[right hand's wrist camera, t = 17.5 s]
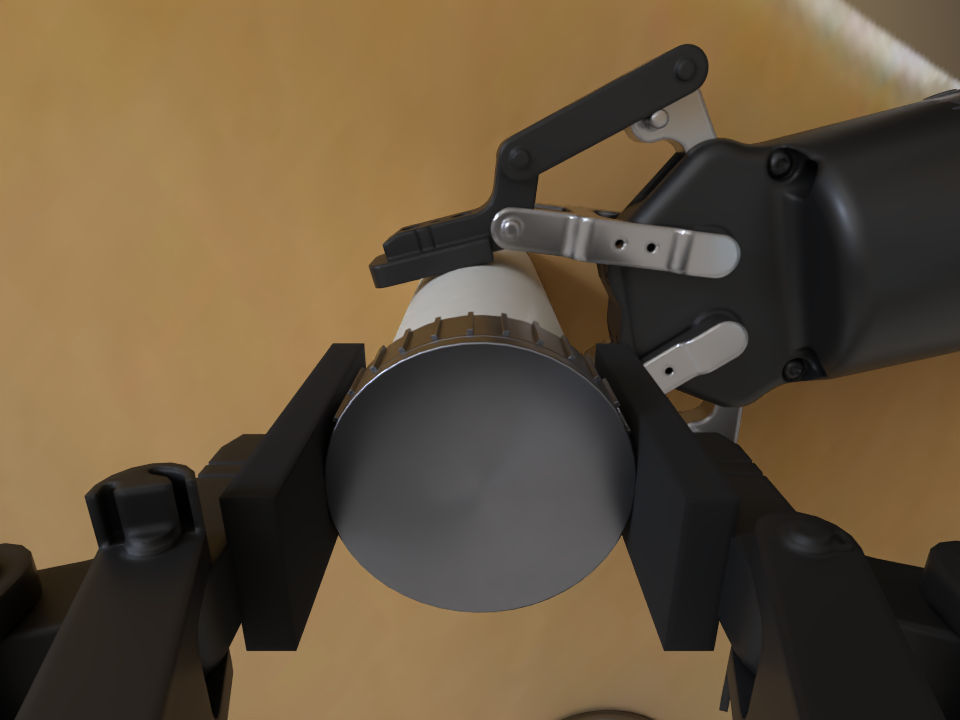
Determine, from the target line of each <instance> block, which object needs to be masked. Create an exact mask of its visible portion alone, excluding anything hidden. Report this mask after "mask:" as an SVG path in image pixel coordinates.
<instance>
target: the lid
mask: <svg viewBox="0 0 960 720" xmlns="http://www.w3.org/2000/svg"><path fill="white" fill-rule="evenodd" d="M619 406H620V404H619V402H618V400H617V398H616V396H615V395H614V393H613V391H612V389H611V387H610V385H609V383H608V381H607V380H606V378H604V379H602V380H601V378H600V376H599V374H598V372H597V370H596V368H595V366H594V364H593V362H592V360H591V358H590V357H589V356H588V355H586V356H584V357H583V356H582V355H581V354H580V353H579V352H578V351H577V350H576V349H575V348H574V347H573V346H571V345H570V343H569V341H568V339H567V337H565V336H564V335H562V336H561V338H560V337H558V336H557V335H555V334H553V333H551V332H549V331H547V330H545V329H543V328H541V327H540V325H539V323H538V322H536V321H533V323H532V324H530V323H528V322H525V321H521V320H517V319H512V318H508V317H507V314H506V313H501V316H492V315H474V312H468V315H465V316H459V317H453V318H447V319H443V320H442V319H441V317H436V318H435V322H433V323H429V324H427V325H424V326H422V327H420V328H418V329H415V330H413V331H412V330H411V328H409V329H407V330H405V333H404V335H403V336H402V337H401V338H399V339H398V340H396V341H394V342H393V343H392V344H391V345H389V346H388V347H387V348H386V347H385V346H384V345H383V346H382V347H381V348H380V349H379V351H378V353H377V355H376V357H375V359H374V360H373V361H372V362H371V363H370V365H369V366H368V367H367V368H366V369H365V368H363V367H362V368H361V369H360V371H359V373H358V375H357V377H356V378H355V380H354V382H353V384H352V386H351V388H350V390H349V392H347V394H346V396H345V398H344V400H343V402H342V403H341V405H340V407H339V409H338V411H337V413H336V415H335V417H334V419H333V422H335V423H336V425H335V427H334V429H333V431H332V434H331V437H330V440H329V443H328V446H327V449H326V456H325V462H324V483H325V493H326V501H327V507H328V510H329V513H330V516H331V520H332V522H333V524H334V526H335V528H336V531H337V533H338V535H339V537H340V538H341V540H342V541H343V543H344V544H345V546H346V547H347V549H348V551H349V552H350V553H351V554H352V555H353V556H354V558H355V559H356V560H357V561H358V562H359V563H360V565H362V566H363V567H364V568H365V569H366V570H367V571H368V572H369V573H370V574H371V575H373V576H374V577H375V578H377V579H378V580H379V581H381V582H382V583H384V584H385V585H386V586H388V587H389V588H391V589H393V590H395V591H397V592H399V593H400V594H402V595H404V596H406V597H409V598H411V599H414V600H416V601H419V602H421V603H424V604H428V605H431V606H435V607H438V608H443V609H448V610H454V611H462V612H498V611H506V610H513V609H517V608H522V607H526V606H530V605H533V604H536V603H539V602H542V601H544V600H547V599H550V598H552V597H554V596H556V595H558V594H560V593H562V592H564V591H566V590H567V589H569V588H571V587H572V586H574V585H575V584H577V583H578V582H580V581H581V580H583V579H584V578H585V577H586V576H587V575H589V574H590V573H591V572H592V571H594V570H595V569H596V568H597V567H598V566H599V565H600V564H601V562H602V561H603V560H604V559H605V558H606V557H607V556H608V555H609V553H610V552H611V551H612V549H613V548H614V546H615V545H616V544H617V542H618V540H619V539H620V537H621V535H622V533H623V531H624V530H625V528H626V525H627V523H628V520H629V517H630V515H631V512H632V508H633V504H634V496H635V487H636V477H637V469H636V458H635V453H634V449H633V445H632V441H631V438H630V436H629V435H631V434H632V433H631V429H630V428H629V426H628V424H627V422H626V420H625V418H624V416H623V414H622V412H621V410H620V409H619Z"/></svg>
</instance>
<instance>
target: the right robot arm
mask: <svg viewBox="0 0 960 720" xmlns="http://www.w3.org/2000/svg"><path fill="white" fill-rule="evenodd" d="M362 367H363V368H365V369H366V362H365V348H364V343H333V344H332V345H331V347H330V348H329V349H328V351H327V352H326V354H325V355H324V356H323V358H322V359H321V360H320V362H319V363H318V364H317V366H316V367H315V368H314V370H313V371H312V372H311V374H310V375H309V377H308V378H307V379H306V381H305V382H304V383H303V385H302V386H301V387H300V389H299V390H298V391H297V393H296V394H295V396H294V397H293V398H292V400H291V401H290V402H289V404H288V405H287V406H286V408H285V409H284V410H283V412H282V413H281V414H280V416H279V417H278V419H277V420H276V421H275V423H274V424H273V425H272V427H271V428H270V429H269V431H268V432H267V433H266V434H243V435H241V436H239V437H238V438H236V439H234V440H233V441H231V442H229V443H228V444H226V445H224V446H223V447H221V449H220V450H219V451H218V452H217V453H216V454H215V456H214V457H213V458H212V459H211V460H210V461H209V465H206V466H205V467H204V469H203V470H202V471H201V472H200V473H199V474H198V478H196V477H195V472H194V471H193V470H191V469H190V468H189V467H187V466H186V465H181V464H176V463H152V464H147V465H143V466H138V467H133V468H130V469H127V470H125V471H122V472H119V473H117V474H114V475H111V476H110V477H108V478H106V479H105V480H103V481H101V482H99V483H98V484H96V485H95V486H94V487H93V488H92V489H91V490H90V491H89V492H88V493H87V494H86V495H85V500H86V503H87V507H88V510H89V514H90V518H91V521H92V525H93V528H94V532H95V536H96V539H97V543H98V547H99V550H98V552H97V554H96V556H95V558H94V559H91V560H87V561H82V562H77V563H72V564H67V565H62V566H57V567H52V568H47V569H42V570H37V569H36V566H35V563H34V560H33V557H32V554H31V551H29V550H28V549H26V548H25V547H24V546H22V545H16V544H7V543H4V544H0V720H227V718H228V710H229V702H230V694H231V686H232V678H233V668H232V661H231V655H230V650H229V647H230V645H231V643H232V641H233V639H234V637H235V634H236V632H237V630H238V628H239V626H240V624H241V623H242V628H243V634H244V639H245V645H246V650H247V651H296V650H297V647H298V645H299V642H300V639H301V636H302V634H303V631H304V628H305V625H306V623H307V620H308V617H309V614H310V612H311V609H312V606H313V603H314V601H315V598H316V595H317V592H318V589H319V587H320V584H321V581H322V578H323V576H324V573H325V570H326V567H327V565H328V562H329V559H330V556H331V554H332V551H333V548H334V545H335V543H336V540H337V537H338V533H337V531H336V528H335V526H334V524H333V522H332V520H331V516H330V513H329V510H328V507H327V501H326V493H325V483H324V462H325V456H326V449H327V446H328V443H329V440H330V437H331V434H332V431H333V429H334V427H335V425H336V423H335V422H333V419H334V417H335V415H336V413H337V411H338V409H339V407H340V405H341V403H342V402H343V400H344V398H345V396H346V394H347V392H349V390H350V388H351V386H352V384H353V382H354V380H355V378H356V377H357V375H358V373H359V371H360V369H361V368H362ZM595 368H596V370H597V372H598V374H599V376H600V378H601V380H602V379H604V378H606V380H607V381H608V383H609V385H610V387H611V389H612V391H613V393H614V395H615V396H616V398H617V400H618V402H619V404H620V406H619V409H620V410H621V412H622V414H623V416H624V418H625V420H626V422H627V424H628V426H629V428H630V429H631V433H632V434H631V435H629V436H630V438H631V441H632V445H633V449H634V453H635V458H636V469H637V477H636V487H635V496H634V504H633V508H632V512H631V515H630V517H629V520H628V523H627V525H626V528H625V530H624V531H623V533H622V536H623V539H624V542H625V544H626V547H627V550H628V553H629V555H630V558H631V561H632V564H633V566H634V569H635V572H636V575H637V578H638V580H639V583H640V586H641V589H642V591H643V594H644V597H645V600H646V602H647V605H648V608H649V611H650V613H651V616H652V619H653V622H654V624H655V627H656V630H657V633H658V635H659V638H660V641H661V644H662V646H663V649H664V651H714V647H715V641H716V636H717V630H718V625H719V621H720V623H721V625H722V627H723V629H724V631H725V633H726V635H727V637H728V639H729V641H730V643H731V650H730V655H729V660H728V666H727V671H726V676H725V681H724V686H723V691H722V696H721V702H720V709H719V710H721V711H725V712H727V711H728V707H729V702H730V701H731V709H732V717H733V720H960V541H949V542H940V543H938V544H937V545H935V546H934V547H933V548H931V549H930V552H929V555H928V558H927V561H926V564H925V567H924V568H922V567H917V566H911V565H906V564H901V563H896V562H891V561H886V560H881V559H876V558H872V557H868V556H865V555H864V553H863V551H862V548H861V547H860V546H859V545H858V543H857V542H856V541H855V540H854V538H853V537H852V536H851V535H850V534H848V533H847V532H845V531H844V530H842V529H841V528H840V527H838V526H837V525H835V524H833V523H830V522H828V521H826V520H823V519H821V518H819V517H816V516H812V515H808V514H804V513H800V512H796V511H795V510H794V509H793V507H792V506H791V505H790V504H789V503H788V502H787V500H786V499H785V498H784V497H783V496H782V495H781V493H780V492H779V491H778V490H777V489H776V488H775V486H774V485H773V484H772V483H771V482H770V481H769V480H768V478H767V477H766V476H763V473H762V471H761V470H760V469H759V468H758V467H757V466H756V464H755V463H752V460H751V459H750V457H749V456H748V455H747V454H746V453H745V452H744V450H743V449H742V448H741V447H740V446H739V445H738V444H736V443H734V442H733V441H731V440H729V439H728V438H726V437H724V436H723V435H721V434H719V433H718V432H692V430H691V429H690V428H689V426H688V425H687V423H686V422H685V421H684V419H683V418H682V417H681V415H680V414H679V413H678V411H677V410H676V409H675V407H674V406H673V405H672V403H671V402H670V400H669V399H668V398H667V396H666V395H665V394H664V392H663V391H662V390H661V388H660V387H659V386H658V384H657V383H656V381H655V380H654V379H653V377H652V376H651V375H650V373H649V372H648V371H647V369H646V368H645V367H644V365H643V364H642V363H641V361H640V360H639V358H638V357H637V356H636V354H635V353H634V352H633V350H632V349H631V348H630V346H629V345H628V344H627V343H596V353H595Z"/></svg>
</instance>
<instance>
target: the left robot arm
mask: <svg viewBox="0 0 960 720" xmlns="http://www.w3.org/2000/svg"><path fill="white" fill-rule="evenodd" d="M707 74H708V60H707V57H706V55H705V53H704V52H703V50H702V49H700V48H699V47H697V46H695V45H692V44H684V45H680V46H678V47H676V48H674V49H672V50H670V51H668V52H666V53H664V54H662V55H660V56H658V57H656V58H654V59H652V60H650V61H648V62H646V63H644V64H642V65H641V66H639V67H637V68H635V69H633V70H631V71H630V72H628V73H626V74H624V75H622V76H620V77H619V78H617V79H615V80H613V81H611V82H609V83H608V84H606V85H604V86H602V87H600V88H599V89H597V90H595V91H593V92H591V93H589V94H588V95H586V96H584V97H582V98H580V99H578V100H577V101H575V102H573V103H571V104H569V105H567V106H566V107H564V108H562V109H560V110H558V111H556V112H555V113H553V114H551V115H549V116H547V117H545V118H544V119H542V120H540V121H538V122H536V123H534V124H533V125H531V126H529V127H527V128H525V129H523V130H522V131H520V132H518V133H516V134H514V135H513V136H511V137H509V138H507V139H506V140H504V141H503V142H502V143H501V144H500V146H499V148H498V150H497V154H496V167H495V176H494V185H493V191H492V194H491V196H490V198H489V199H488V201H487V202H486V203H485V204H484V205H482V206H481V207H479V208H477V209H473V210H470V211H466V212H462V213H458V214H454V215H450V216H446V217H442V218H438V219H434V220H430V221H426V222H422V223H418V224H414V225H410V226H407V227H403V228H401V229H400V230H399V231H397V232H396V233H395V234H393V235H392V236H391V237H389V238H388V240H387V241H386V242H385V243H384V244H383V248H384V251H385V254H382V255H380V256H378V257H376V258H375V259H374V260H373V261H372V262H371V263H370V264H369V268H370V272H371V275H372V278H373V281H374V284H375V287H376V288H385V287H389V286H393V285H398V284H402V283H406V282H410V281H414V280H418V279H422V278H426V277H430V276H434V275H438V274H442V273H446V272H450V271H454V270H457V269H461V268H466V267H471V266H475V265H479V264H483V263H487V262H491V261H494V255H493V252H496V251H500V250H504V249H506V250H513V251H522V252H530V253H539V254H548V255H556V256H564V257H569V258H571V259H575V260H579V261H584V262H592V263H597V269H598V274H599V277H600V279H601V281H602V283H603V285H604V287H605V289H606V291H607V293H608V296H609V301H608V311H607V325H608V330H609V336H610V337H608V338H606V339H605V340H603V341H601V342H600V343H627V344H628V345H629V346H630V348H631V349H632V350H633V352H634V353H635V354H636V356H637V357H638V358H639V360H640V361H641V363H642V364H643V365H644V367H645V368H646V369H647V371H648V372H649V373H650V375H651V376H652V377H653V379H654V380H655V381H656V383H657V384H658V386H659V387H660V388H661V390H662V391H663V392H664V394H666V393H668V392H669V391H671V390H673V389H676V390H679V391H681V392H684V393H687V394H689V395H692V396H694V397H697V398H699V399H702V400H704V401H703V402H702V404H701V405H700V406H698V407H697V408H695V409H693V410H689V411H683V412H682V411H679V412H678V413H679V414H680V415H681V417H682V418H683V419H684V421H685V422H686V423H687V425H688V426H689V428H690V429H691V430H692V432H718V433H719V434H721V435H723V436H724V437H726V438H728V439H729V440H731V441H733V442H734V443H736V444H737V440H738V433H739V427H740V421H741V415H742V409H743V407H744V406H747V405H749V404H751V403H753V402H755V401H756V400H758V399H759V398H761V397H762V396H763V395H764V394H766V393H767V392H769V391H770V390H772V389H774V388H776V387H778V386H780V385H782V384H785V383H790V382H798V381H813V380H826V379H833V378H838V377H843V376H848V375H852V374H857V373H861V372H866V371H870V370H875V369H880V368H884V367H889V366H893V365H898V364H902V363H907V362H912V361H916V360H921V359H925V358H930V357H935V356H939V355H944V354H948V353H953V352H958V351H960V89H959V90H957V89H953V90H949V91H945V92H942V93H939V94H936V95H933V96H930V97H928V98H926V99H924V100H923V101H922V102H917V103H914V104H910V105H906V106H902V107H898V108H894V109H890V110H886V111H882V112H878V113H874V114H870V115H866V116H862V117H859V118H855V119H851V120H847V121H843V122H839V123H835V124H831V125H827V126H823V127H819V128H815V129H811V130H807V131H804V132H800V133H796V134H792V135H788V136H784V137H780V138H776V139H772V140H768V141H764V142H760V143H755V144H744V143H740V142H737V141H734V140H731V139H726V138H717V136H716V133H715V131H714V128H713V125H712V122H711V119H710V116H709V113H708V110H707V108H706V105H705V102H704V99H703V96H702V93H701V90H700V87H701V86H702V84H703V83H704V81H705V79H706V77H707ZM622 130H625V132H626V134H627V136H628V137H629V138H630V139H631V140H633V141H635V142H638V143H653V142H657V141H660V140H665V141H668V142H669V143H671V144H672V145H673V147H674V148H675V150H676V153H675V154H674V155H673V156H672V157H671V158H670V159H669V160H668V162H667V163H666V164H665V165H664V166H663V167H662V168H661V169H660V170H659V172H658V173H657V174H656V175H655V176H654V177H653V178H652V179H651V180H650V181H649V183H648V184H647V185H646V186H645V187H644V188H643V189H642V190H641V191H640V192H639V194H638V195H637V196H636V197H635V198H634V199H633V200H632V201H631V202H630V204H629V205H628V206H627V207H626V208H625V209H624V210H623V211H622V212H620V211H612V210H603V209H595V208H586V207H578V206H559V205H550V204H542V203H535V198H536V191H537V183H538V176H539V174H541V173H542V172H544V171H546V170H548V169H550V168H552V167H554V166H556V165H558V164H559V163H561V162H563V161H565V160H567V159H569V158H571V157H573V156H575V155H576V154H578V153H580V152H582V151H584V150H586V149H588V148H590V147H591V146H593V145H595V144H597V143H599V142H601V141H603V140H605V139H607V138H608V137H610V136H612V135H614V134H616V133H618V132H620V131H622ZM595 353H596V345H595V346H593V347H592V348H590V349H589V350H587V351H586V352H585V353H584V354H583V357H584V356H586V355H588V356H589V357H590V358H591V360H592V362H593V364H594V366H595ZM563 720H649V719H647V718H645V717H642V716H639V715H636V714H632V713H628V712H622V711H607V710H603V711H592V712H586V713H581V714H577V715H574V716H571V717H568V718H565V719H563Z"/></svg>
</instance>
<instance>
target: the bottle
mask: <svg viewBox="0 0 960 720" xmlns="http://www.w3.org/2000/svg"><path fill="white" fill-rule="evenodd" d="M493 255H494V261H491V262H487V263H483V264H479V265H475V266H471V267H466V268H461V269H457V270H454V271H450V272H446V273H442V274H438V275H434V276H430V277H426V278H422V279H420V282H419V284H418V286H417V289H416V291H415V293H414V295H413V298H412V300H411V302H410V304H409V307H408V309H407V311H406V314H405V316H404V318H403V320H402V323H401V325H400V327H399V329H398V332H397V334H396V336H395V339H394V341H396V340H398V339H399V338H401V337H402V336H403V335H404V333H405V330H407V329H409V328H411V330H412V331H413V330H415V329H418V328H420V327H422V326H424V325H427V324H429V323H433V322H435V318H436V317H441V319H442V320H443V319H447V318H453V317H459V316H465V315H468V312H474V315H492V316H501V313H506V314H507V317H508V318H512V319H517V320H521V321H525V322H528V323H530V324H532V323H533V321H536V322H538V323H539V325H540V327H541V328H543V329H545V330H547V331H549V332H551V333H553V334H555V335H557V336H558V337H560V338H561V336H562V335H564V333H563V331H562V329H561V327H560V324H559V322H558V320H557V317H556V315H555V313H554V311H553V308H552V306H551V304H550V302H549V299H548V297H547V295H546V292H545V290H544V288H543V286H542V283H541V281H540V279H539V277H538V274H537V272H536V270H535V267H534V265H533V263H532V261H531V259H530V258H529V256H528V254H527V253H526V252H522V251H513V250H506V249H504V250H500V251H496V252H493ZM394 341H393V342H394Z"/></svg>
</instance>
